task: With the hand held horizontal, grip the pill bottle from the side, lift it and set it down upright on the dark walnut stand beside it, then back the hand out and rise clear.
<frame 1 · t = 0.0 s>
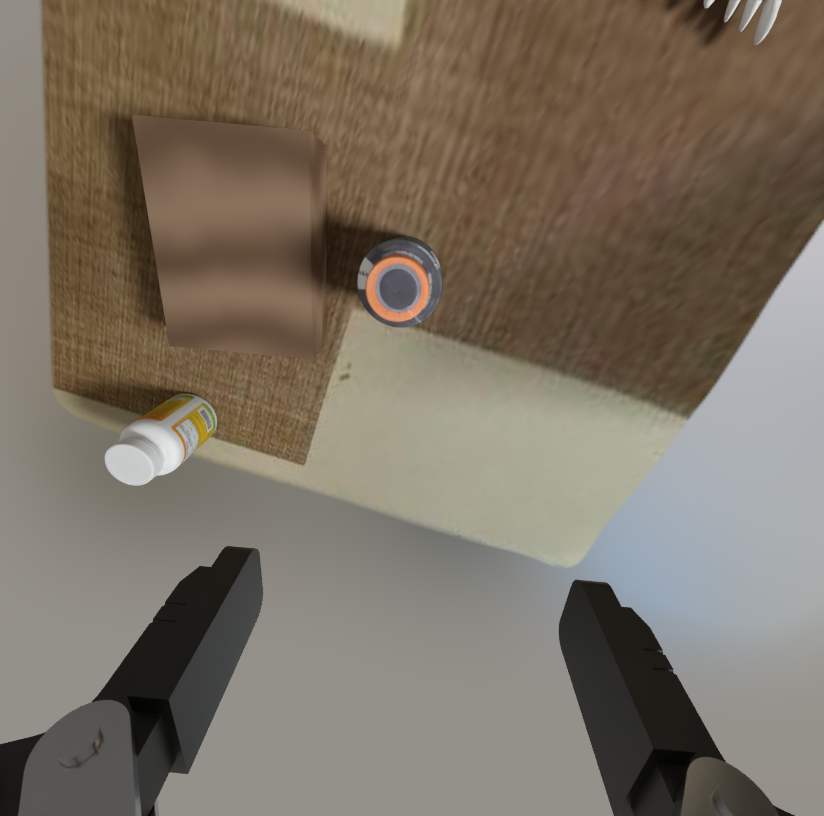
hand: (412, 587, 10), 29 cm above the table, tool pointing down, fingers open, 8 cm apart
stand: (257, 247, 35), on the table
pill bottle: (406, 273, 35), on the table
supplement bottle: (193, 415, 42), on the table
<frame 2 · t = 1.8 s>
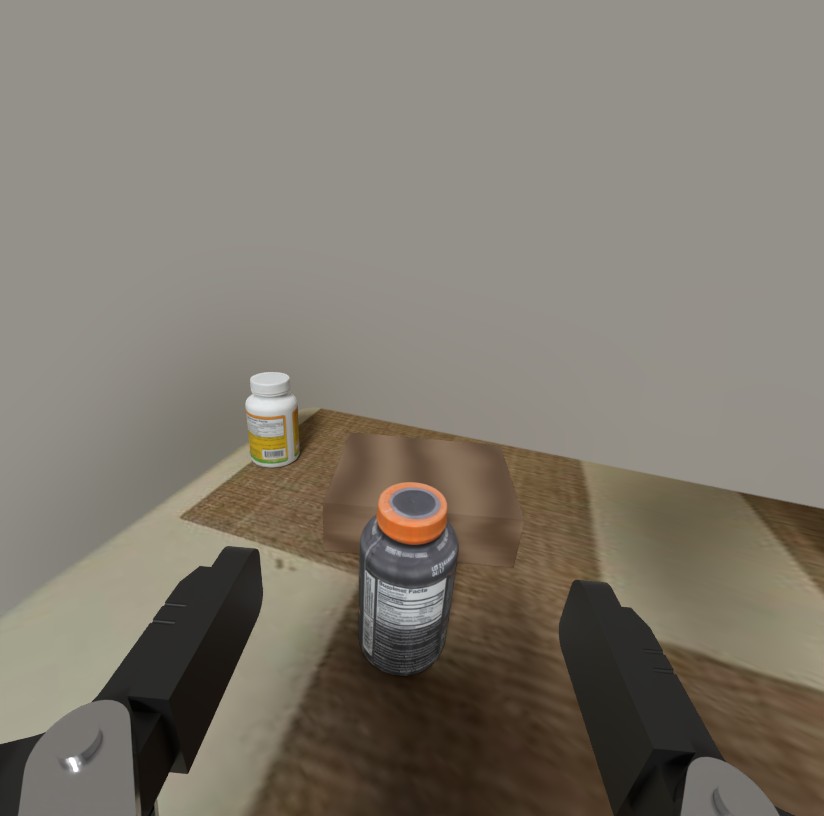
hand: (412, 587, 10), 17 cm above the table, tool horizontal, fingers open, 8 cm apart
stand: (420, 513, 39), on the table
pill bottle: (401, 637, 27), on the table
supplement bottle: (275, 457, 47), on the table
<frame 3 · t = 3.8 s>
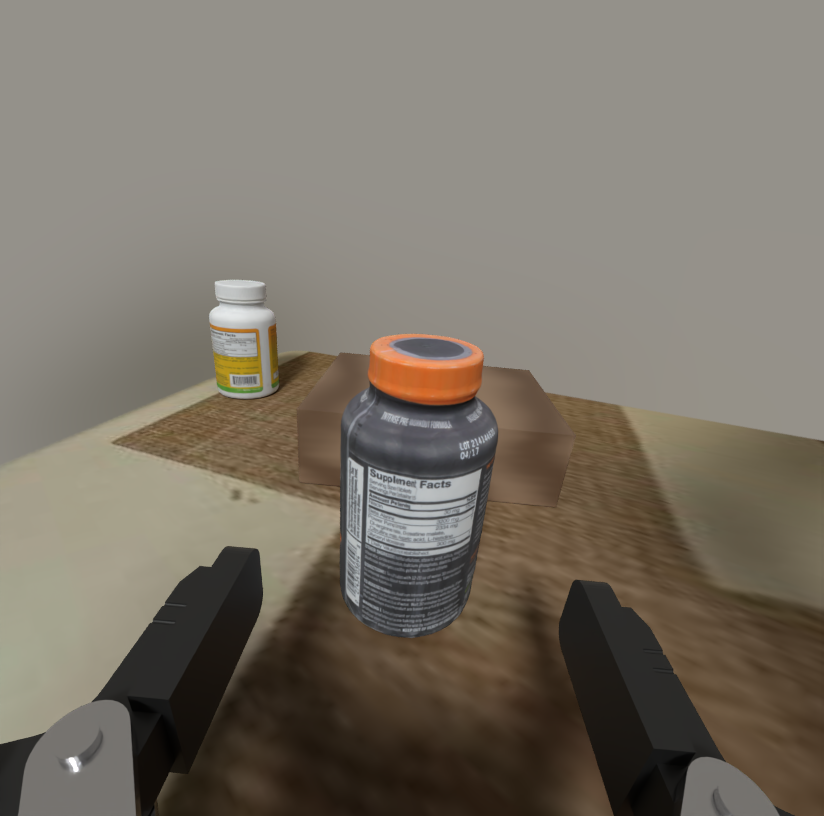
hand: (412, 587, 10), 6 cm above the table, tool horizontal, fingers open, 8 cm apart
stand: (428, 447, 30), on the table
pill bottle: (403, 586, 19), on the table
supplement bottle: (249, 391, 38), on the table
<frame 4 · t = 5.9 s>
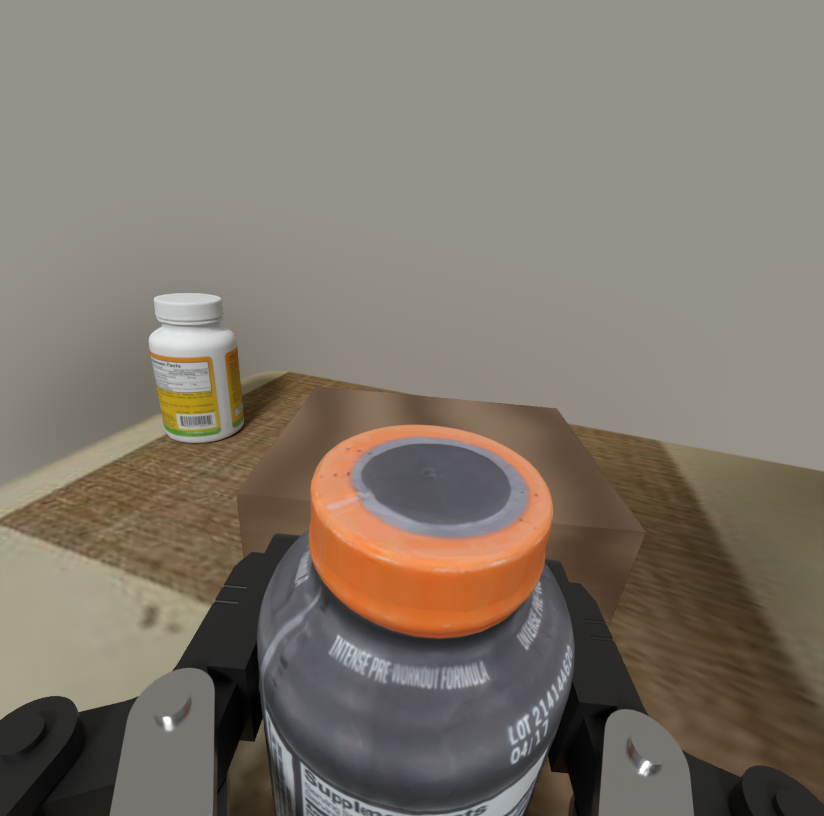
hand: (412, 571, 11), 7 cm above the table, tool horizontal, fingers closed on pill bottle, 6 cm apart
stand: (428, 516, 23), on the table
supplement bottle: (206, 430, 31), on the table
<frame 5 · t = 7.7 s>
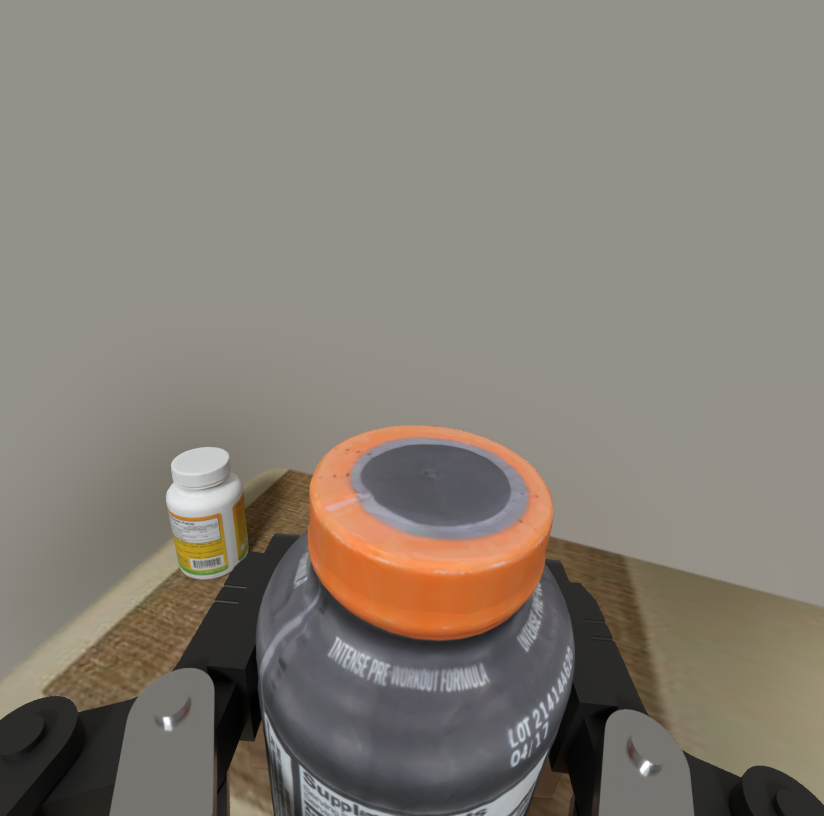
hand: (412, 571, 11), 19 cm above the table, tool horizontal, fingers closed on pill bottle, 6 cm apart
stand: (407, 670, 27), on the table
supplement bottle: (215, 558, 34), on the table
when the fingers open (13 cm above the table, at t = 10.0 s): pill bottle drops 1 cm, resting on stand.
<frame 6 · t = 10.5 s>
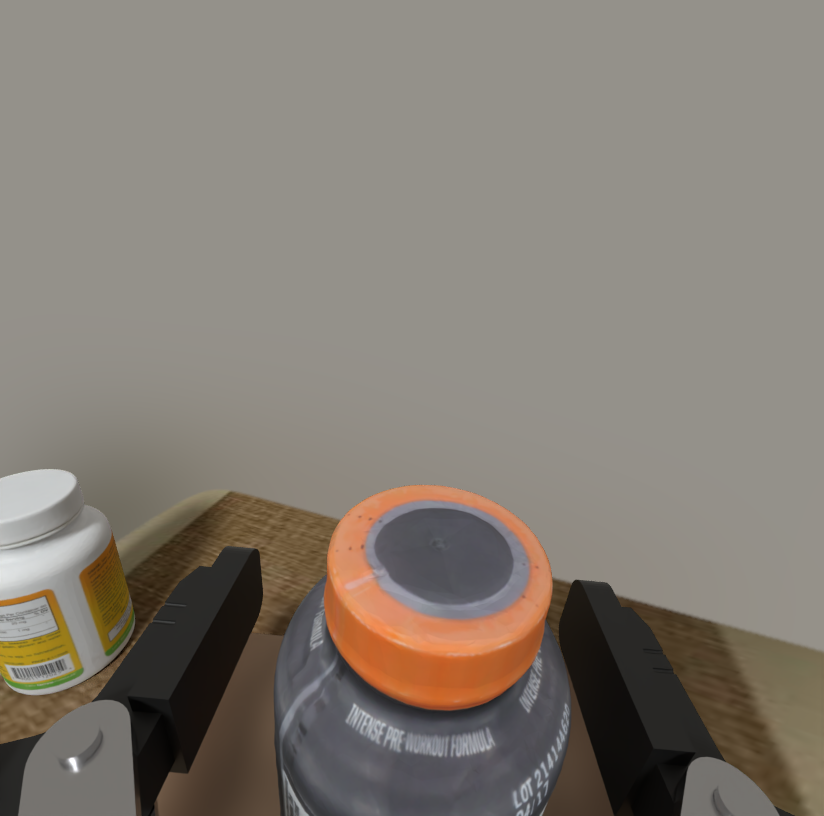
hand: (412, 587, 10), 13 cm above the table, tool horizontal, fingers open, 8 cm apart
supplement bottle: (76, 647, 21), on the table
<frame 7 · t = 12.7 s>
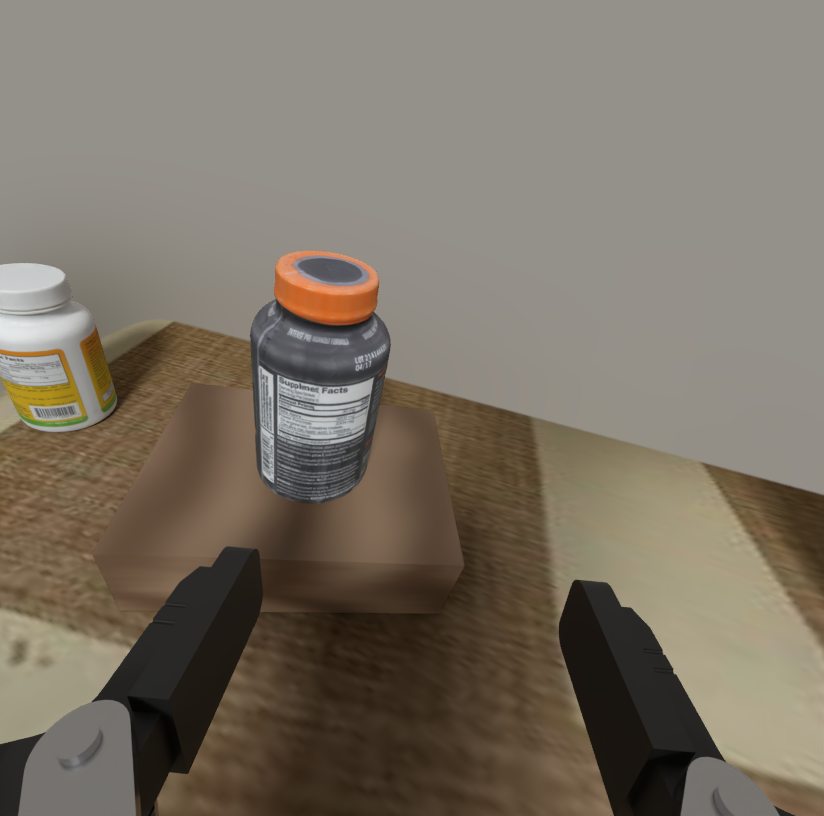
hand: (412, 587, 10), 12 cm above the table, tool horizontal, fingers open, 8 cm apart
stand: (305, 516, 26), on the table
pill bottle: (312, 466, 23), point 5 cm above the table, touching stand
supplement bottle: (73, 411, 29), on the table
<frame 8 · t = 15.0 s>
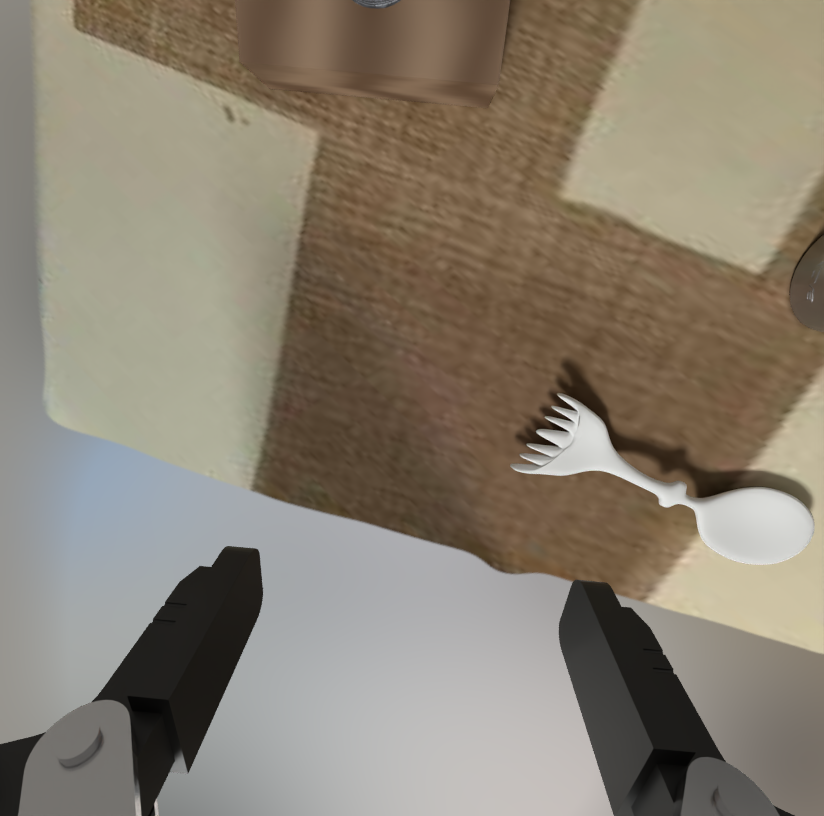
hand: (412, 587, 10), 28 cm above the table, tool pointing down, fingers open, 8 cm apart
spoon: (660, 478, 42), on the table
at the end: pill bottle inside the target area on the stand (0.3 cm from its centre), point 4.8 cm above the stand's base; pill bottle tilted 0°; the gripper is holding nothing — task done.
